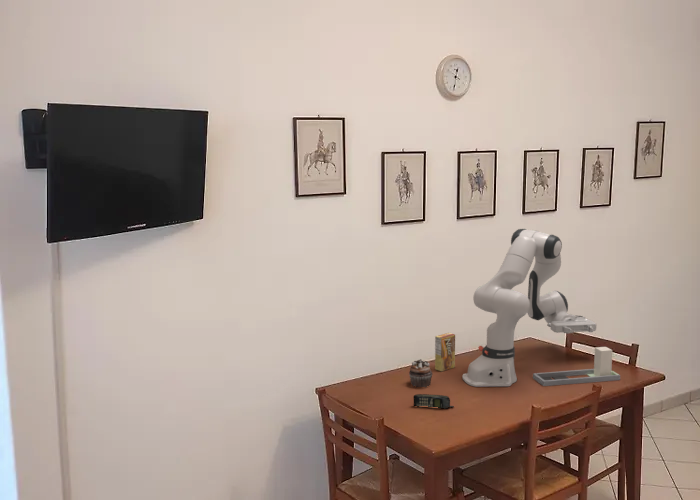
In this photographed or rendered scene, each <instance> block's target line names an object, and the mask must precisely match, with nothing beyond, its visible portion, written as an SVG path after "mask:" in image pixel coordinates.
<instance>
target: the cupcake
mask: <svg viewBox="0 0 700 500" xmlns="http://www.w3.org/2000/svg"><path fill="white" fill-rule="evenodd" d="M408 373H409V374H408V375H409V379H410V384H412V385H413V386H412V385H411V386H412V387H414V386H416V387H415V388H417V387H425V388H428V387H427V386H429V385H430V386H431V383H432V376H433V372H432V370H431V367H430V363H429V362H428V361H427V360H422V359H418V360H414V361H412V362H411V366H410V368H409V372H408ZM430 386H429V387H430Z"/></svg>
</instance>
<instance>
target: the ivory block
mask: <svg viewBox="0 0 700 500" xmlns="http://www.w3.org/2000/svg"><path fill="white" fill-rule="evenodd" d="M593 357H594V358H593V359H594V360H593V361H594V362H593V364H594V365H593V369H594V375H595V376H607V375H611V370H612V366H613V365H612V364H613V350H612V349H611V348H609V347H607V346H600V347H594V356H593ZM612 371H613V370H612Z"/></svg>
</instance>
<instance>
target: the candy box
mask: <svg viewBox="0 0 700 500" xmlns="http://www.w3.org/2000/svg"><path fill="white" fill-rule="evenodd" d="M434 337H435V339H434V340H435V344H434V346H435V347H434V349H435V351H434V352H435V353H434V357H435V358H434V370H435V371H439V372H445V371H448V370H451V369H454V368H456V334H455V333H451V332H447V333H444V334H443V333H442V334H438V335H435V336H434Z"/></svg>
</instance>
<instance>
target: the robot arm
mask: <svg viewBox="0 0 700 500" xmlns="http://www.w3.org/2000/svg"><path fill="white" fill-rule="evenodd" d="M510 245H511V246H509V248H508V250H507V253H506V255H505V256H504V259H503V261H502V263H501V265H500V267H499V269H498V271H497V272H496V273H495V275H494V276H493V277H492V278H490V280H489V281H488V282H486V283H485V284H484V283H483V284H482V285H481V286H479V287H477V288H476V289H475V291H474V292H473V304H474V306H475V307H477V308H478V309H480V310H483V311H484V312H486V313H487V312H488V313H492V314H496V320H495V321H494V322H492V323H491V324H489V325H488V326H487V328H486V344H485V346H482V345H478V349H477V350H478V351H479V352H481V355H479V356H478V357H477V358H476V359H474V360H473V361H472V362H470V363H469V364H468V368H467V372H466V373H463V374H462V375H461V377H462V381H464V382H465V383H466V384H467V385H468V386H471V387H476V388H477V387H481V388H482V387H511V386H512V384H514V383H516V382H517V381H518V379H517V374H516V369H515V357H516V356H515V355H516V351H515V344H514V342H515V340H514V339H515V332H516V331H515V330H516V326H517V323H519V321H520V319H522V318H523V317H525V316H526V315H528V317H529V318H530V319H532V320H535V321H540V320H542V319H544V320H545V322H546V323H547V325H546V326H547V327H549V328H550V331H552V332H554V333H556V334H557V333H558V334H559V333H564V334H568V335H569V334H573V333H582V332H584V333H585V332H589V333H594V332H596V331H597V323H596V322H595V321H593V320H591V319H588V318H586V316H584V315H575V314H571V313H568V310H569V304H568V299H567V298H566V296H565V295H564V294H563V293H561V292H560V291H558V290H552V291H549V292H548V293H545V294H543V295H540V294H541V287H543V285H544V284H545V283H546V282H547V281H548V280H549V279H551V278H552V277H553V276H555V275H556V274H557V273H558V272H559V270H560V268H561V265H562V256H561V251H562V248H563V244H562V240H561V239H560V237H558V236H557V235H554V234H549V233H546V232H543V231H539V230H534V229H526V228H518V229H516V230H515V231H514V232H513V233H512V235H511V238H510ZM534 260H535V261H534ZM533 261H534V264H533ZM532 264H533V268H532V270H531V272H530V273H529V271H530V269H531V266H532ZM528 274H529V276H528ZM527 276H528V285H527V286H528V289H527V295H526V294H525V293H522V292H521V291H518V290H515V289H513V288H515V287H516V286H519V285H520V284H523V283H524V281H526V279H527Z"/></svg>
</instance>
